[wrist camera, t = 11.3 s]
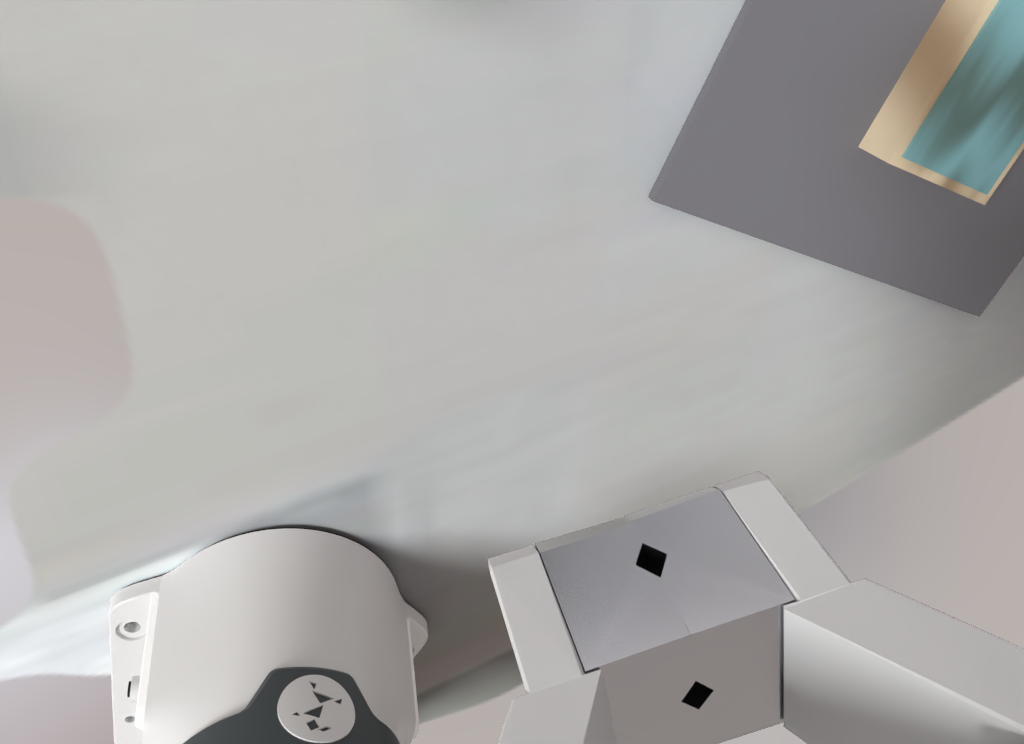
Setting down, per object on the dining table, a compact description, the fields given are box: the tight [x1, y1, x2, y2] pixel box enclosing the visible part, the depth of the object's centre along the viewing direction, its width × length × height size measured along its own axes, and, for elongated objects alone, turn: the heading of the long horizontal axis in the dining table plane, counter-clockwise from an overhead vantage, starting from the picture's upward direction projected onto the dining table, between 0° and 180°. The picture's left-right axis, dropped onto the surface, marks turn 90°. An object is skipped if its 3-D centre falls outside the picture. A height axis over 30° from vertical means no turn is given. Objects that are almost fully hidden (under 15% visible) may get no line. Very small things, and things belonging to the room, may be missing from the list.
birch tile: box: [858, 0, 1024, 205], centre depth 41 cm, size 10×3×7 cm
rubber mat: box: [648, 0, 1024, 317], centre depth 42 cm, size 22×24×1 cm
